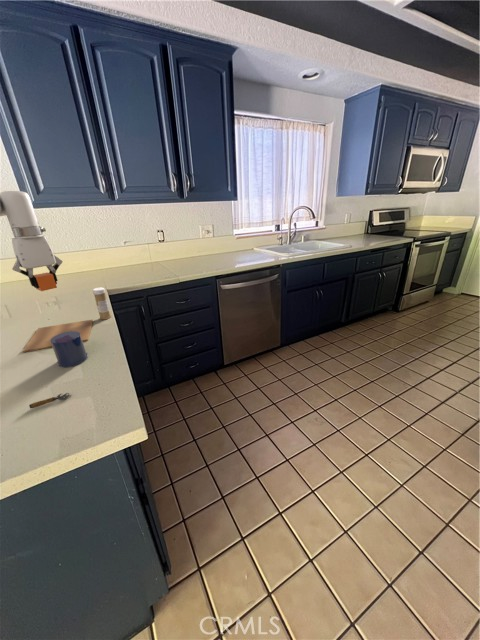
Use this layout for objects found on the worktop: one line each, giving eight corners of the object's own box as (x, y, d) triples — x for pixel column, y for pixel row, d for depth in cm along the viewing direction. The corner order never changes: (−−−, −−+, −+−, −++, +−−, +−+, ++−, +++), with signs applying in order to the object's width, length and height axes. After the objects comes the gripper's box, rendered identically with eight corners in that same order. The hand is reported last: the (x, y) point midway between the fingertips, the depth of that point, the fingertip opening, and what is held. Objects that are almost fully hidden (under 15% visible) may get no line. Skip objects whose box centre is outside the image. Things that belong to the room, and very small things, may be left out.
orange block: (41, 291, 92) (36, 277, 90) (36, 289, 95) (31, 275, 93) (57, 287, 95) (52, 274, 93) (51, 285, 98) (47, 272, 96)
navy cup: (55, 370, 81) (46, 345, 77) (60, 356, 88) (52, 333, 84) (86, 363, 84) (78, 340, 80) (89, 351, 91) (82, 329, 87)
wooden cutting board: (23, 352, 91) (22, 351, 91) (38, 329, 108) (38, 328, 108) (88, 340, 98) (87, 339, 97) (93, 320, 115) (92, 319, 114)
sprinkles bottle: (100, 316, 119) (93, 287, 113) (111, 315, 120) (104, 286, 114) (99, 320, 115) (91, 290, 109) (110, 318, 116) (103, 289, 110)
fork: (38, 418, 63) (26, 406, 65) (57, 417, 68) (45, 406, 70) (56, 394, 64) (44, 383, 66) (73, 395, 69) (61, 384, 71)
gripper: (52, 229, 95) (67, 278, 103) (-9, 235, 83) (13, 290, 91) (60, 230, 91) (75, 281, 99) (-3, 236, 79) (20, 293, 86)
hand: (45, 285), depth 95 cm, fingers closed on orange block, 5 cm apart
